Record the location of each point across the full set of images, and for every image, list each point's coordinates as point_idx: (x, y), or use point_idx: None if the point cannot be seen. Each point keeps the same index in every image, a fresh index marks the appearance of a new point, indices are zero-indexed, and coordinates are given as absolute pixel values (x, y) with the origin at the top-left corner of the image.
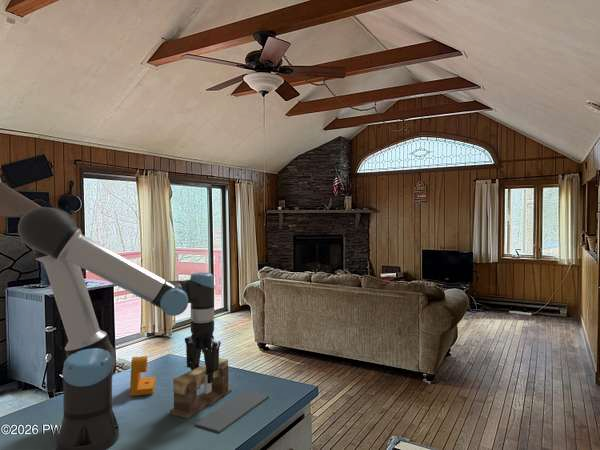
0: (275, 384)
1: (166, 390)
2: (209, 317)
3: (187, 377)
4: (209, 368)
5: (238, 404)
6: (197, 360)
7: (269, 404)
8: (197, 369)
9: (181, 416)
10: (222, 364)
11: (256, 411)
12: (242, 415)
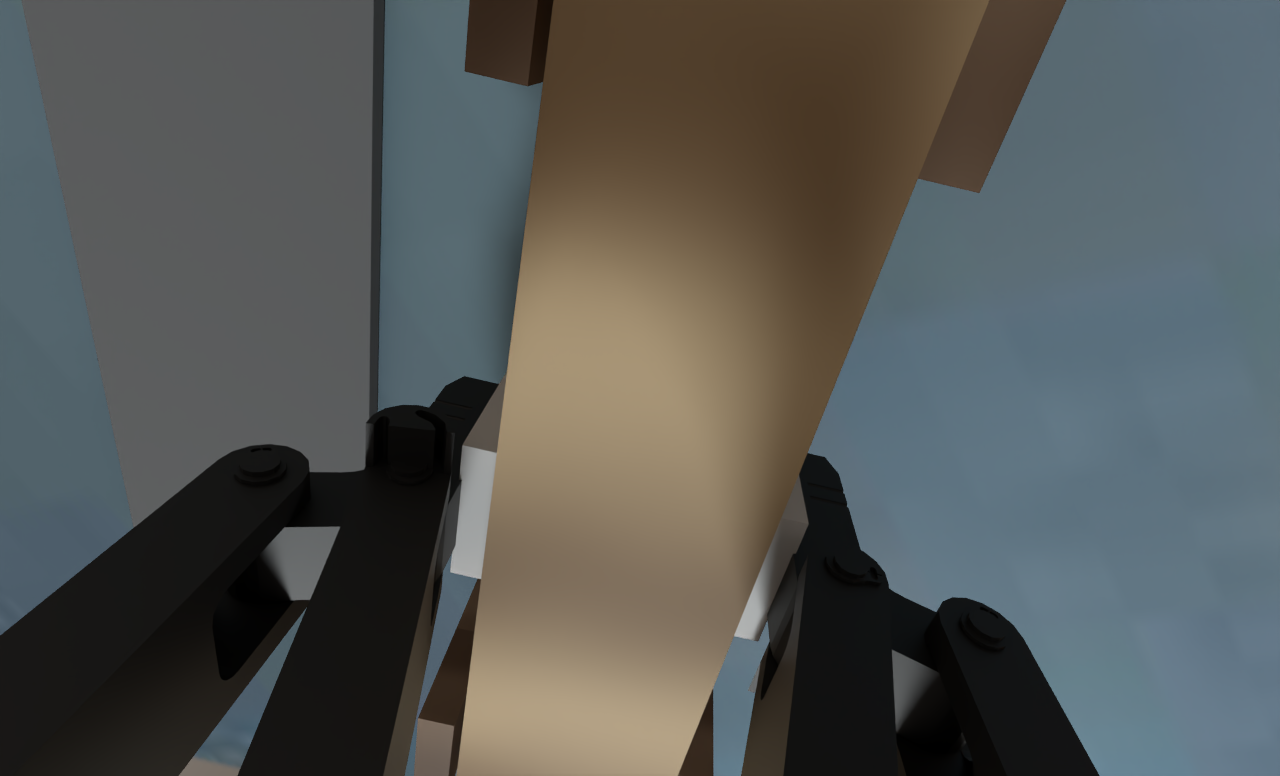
0: (258, 708)
1: (1196, 475)
2: None
3: None
4: (343, 534)
5: (244, 318)
6: (760, 771)
7: (46, 410)
8: (693, 535)
9: None
10: None
11: (36, 255)
12: (54, 109)
